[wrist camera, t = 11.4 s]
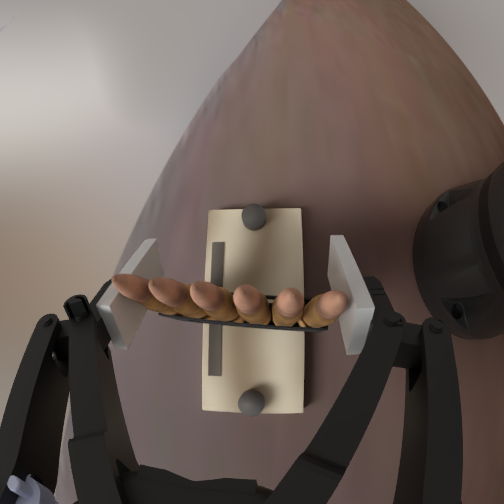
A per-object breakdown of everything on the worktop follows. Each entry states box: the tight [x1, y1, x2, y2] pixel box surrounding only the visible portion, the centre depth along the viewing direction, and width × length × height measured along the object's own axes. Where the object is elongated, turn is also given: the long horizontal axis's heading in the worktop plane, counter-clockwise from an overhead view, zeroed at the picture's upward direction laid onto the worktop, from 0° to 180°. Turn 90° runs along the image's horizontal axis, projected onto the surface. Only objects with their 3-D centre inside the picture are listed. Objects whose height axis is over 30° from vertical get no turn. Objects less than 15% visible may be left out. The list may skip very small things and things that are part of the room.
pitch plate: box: [202, 204, 304, 416], centre depth 23 cm, size 8×17×2 cm, turn 179°
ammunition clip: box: [112, 274, 348, 332], centre depth 16 cm, size 11×2×12 cm, turn 85°
